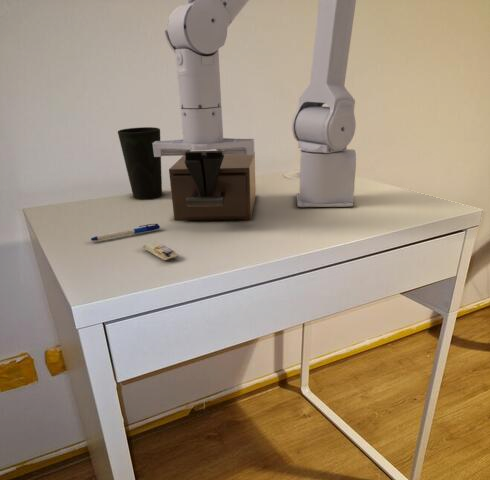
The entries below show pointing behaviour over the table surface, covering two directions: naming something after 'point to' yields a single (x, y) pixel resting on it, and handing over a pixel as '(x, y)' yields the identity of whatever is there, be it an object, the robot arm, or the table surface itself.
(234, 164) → the cabinet
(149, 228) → the ballpoint pen
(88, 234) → the table surface
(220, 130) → the robot arm
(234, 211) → the drawer
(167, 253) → the granola bar
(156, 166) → the cup
